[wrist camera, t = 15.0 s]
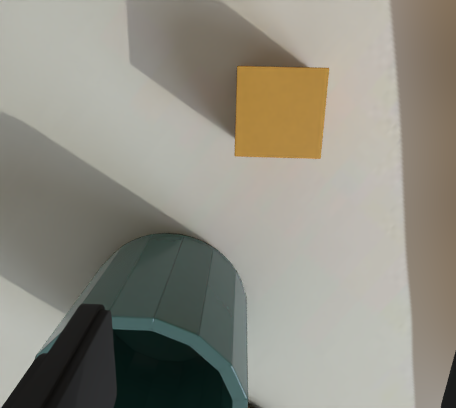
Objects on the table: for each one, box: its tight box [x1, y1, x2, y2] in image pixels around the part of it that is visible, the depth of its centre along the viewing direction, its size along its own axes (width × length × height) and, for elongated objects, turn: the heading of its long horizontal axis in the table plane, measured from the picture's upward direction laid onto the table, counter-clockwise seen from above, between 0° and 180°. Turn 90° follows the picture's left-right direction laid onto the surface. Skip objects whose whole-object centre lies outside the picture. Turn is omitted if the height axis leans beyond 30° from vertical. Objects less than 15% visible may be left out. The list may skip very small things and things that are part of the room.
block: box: [235, 66, 329, 159], centre depth 23 cm, size 5×5×6 cm
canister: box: [35, 233, 248, 408], centre depth 26 cm, size 12×12×10 cm
